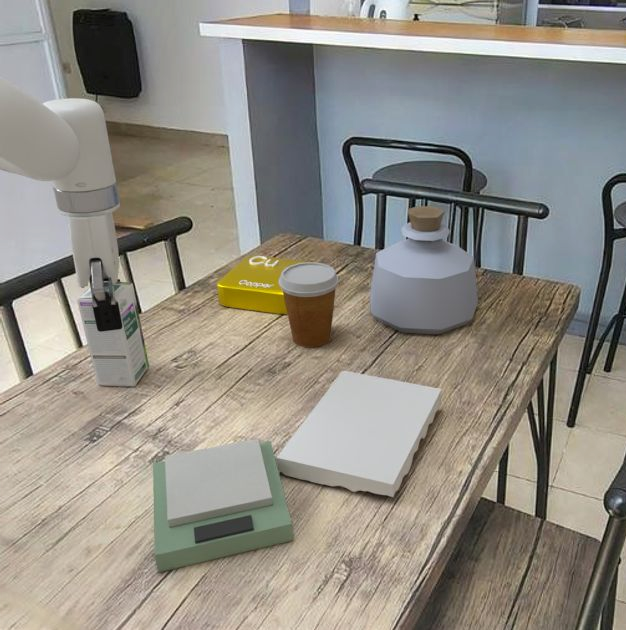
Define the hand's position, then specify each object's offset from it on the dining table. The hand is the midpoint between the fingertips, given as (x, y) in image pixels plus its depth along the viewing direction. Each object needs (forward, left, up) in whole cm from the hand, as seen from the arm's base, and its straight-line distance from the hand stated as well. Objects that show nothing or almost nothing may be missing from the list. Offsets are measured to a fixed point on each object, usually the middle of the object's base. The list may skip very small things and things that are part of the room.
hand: (111, 316), depth 98 cm
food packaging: (+30, -26, -10) cm, 41 cm away
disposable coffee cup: (+29, +3, -10) cm, 31 cm away
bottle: (+50, +7, -10) cm, 52 cm away
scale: (+11, -33, -10) cm, 36 cm away
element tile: (+25, +22, -10) cm, 35 cm away
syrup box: (0, 0, -10) cm, 10 cm away
